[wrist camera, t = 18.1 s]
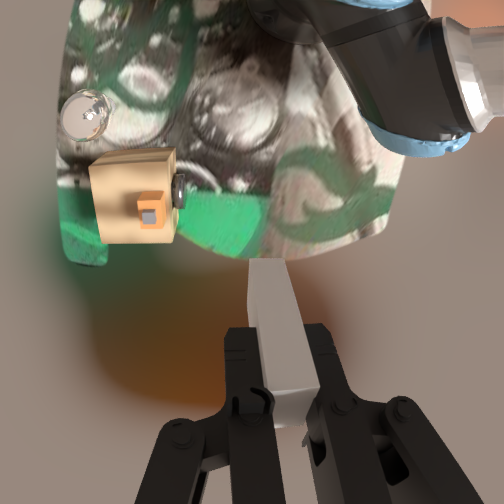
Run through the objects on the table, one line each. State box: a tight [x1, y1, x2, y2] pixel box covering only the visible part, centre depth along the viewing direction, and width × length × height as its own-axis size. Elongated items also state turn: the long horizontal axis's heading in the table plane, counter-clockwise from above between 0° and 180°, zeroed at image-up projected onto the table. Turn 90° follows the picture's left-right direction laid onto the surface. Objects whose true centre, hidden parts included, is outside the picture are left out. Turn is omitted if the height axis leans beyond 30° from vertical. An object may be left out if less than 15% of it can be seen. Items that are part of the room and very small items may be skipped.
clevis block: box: [89, 147, 179, 244], centre depth 42 cm, size 12×11×8 cm
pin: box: [171, 174, 186, 209], centre depth 43 cm, size 5×13×5 cm, turn 87°
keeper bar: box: [137, 191, 167, 229], centre depth 38 cm, size 4×3×4 cm
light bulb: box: [60, 89, 115, 142], centre depth 33 cm, size 7×7×12 cm
